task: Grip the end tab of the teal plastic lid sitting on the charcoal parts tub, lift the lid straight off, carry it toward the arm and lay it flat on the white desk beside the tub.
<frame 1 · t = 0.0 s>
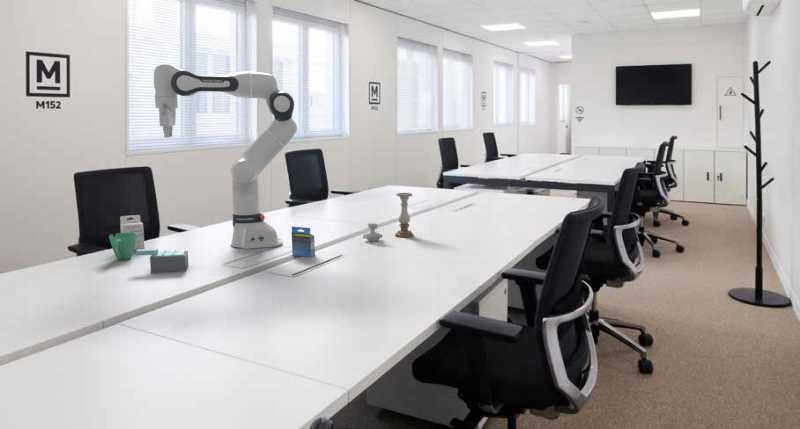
hand: (168, 137, 264), 48 cm above the table, tool pointing down, fingers open, 8 cm apart
mug: (122, 261, 248), on the table
candle holder: (404, 236, 298), on the table
grey oil lamp: (372, 241, 286), on the table
ink box: (133, 250, 267), on the table
lid: (169, 255, 230), point 6 cm above the table, touching tub
tub: (170, 271, 231), on the table
label tape box: (303, 256, 257), on the table
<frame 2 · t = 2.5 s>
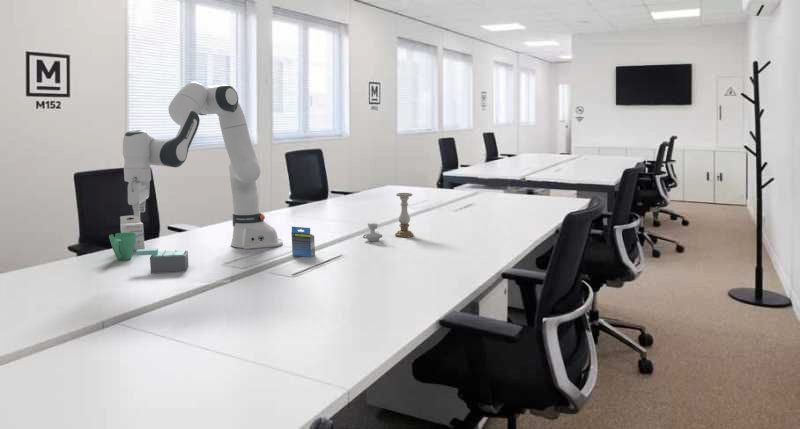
hand: (139, 214, 225), 22 cm above the table, tool pointing down, fingers open, 8 cm apart
nothing on the table moved.
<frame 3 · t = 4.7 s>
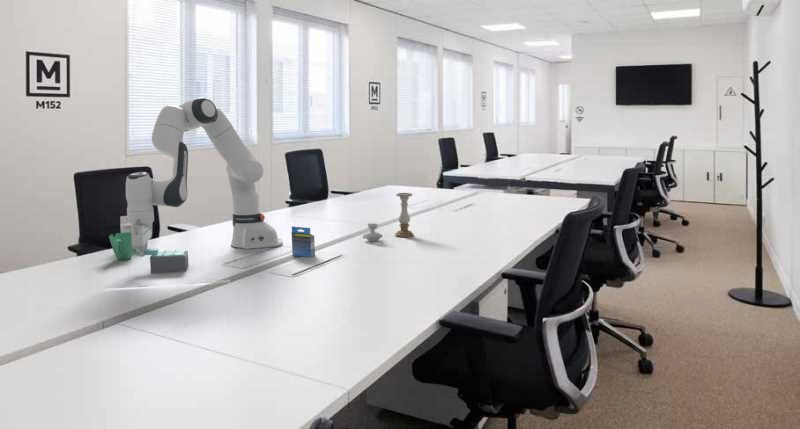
hand: (143, 254, 228), 7 cm above the table, tool pointing down, fingers closed on lid, 3 cm apart
lid: (169, 255, 230), point 6 cm above the table, touching gripper, tub
everything else where it was.
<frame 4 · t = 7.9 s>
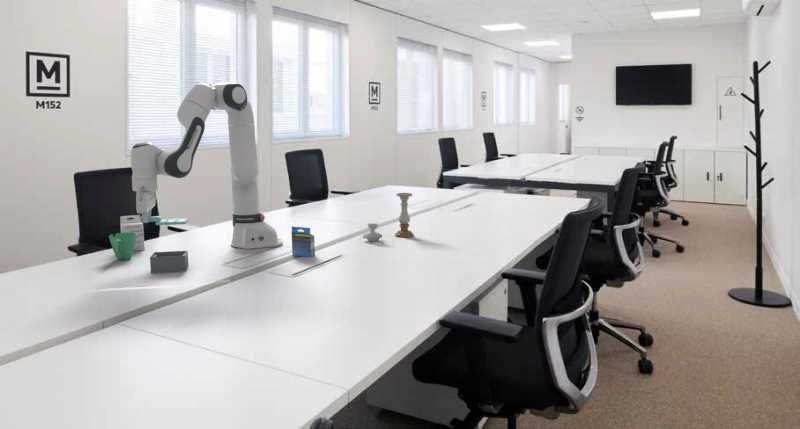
hand: (147, 221, 238), 17 cm above the table, tool pointing down, fingers closed on lid, 3 cm apart
lid: (172, 222, 240), point 16 cm above the table, touching gripper
everything else where it was.
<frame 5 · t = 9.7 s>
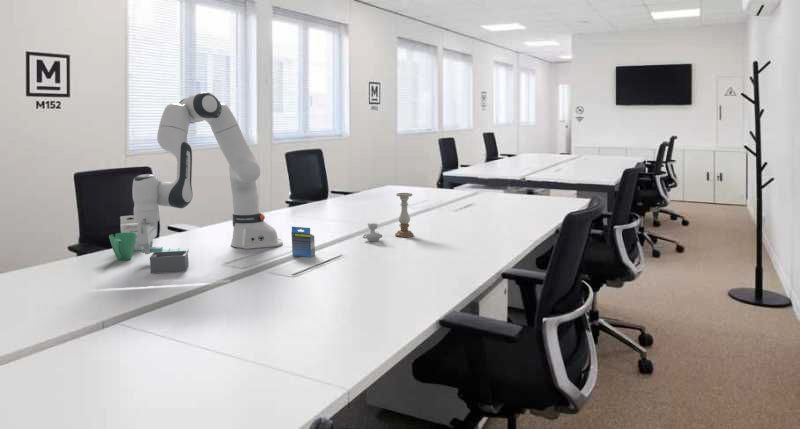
hand: (148, 252, 240), 5 cm above the table, tool pointing down, fingers closed on lid, 3 cm apart
lid: (173, 253, 242), point 4 cm above the table, touching gripper
everything else where it was.
when the fingers open (2 cm above the table, at t = 11.0 s): lid drops 2 cm, on the table.
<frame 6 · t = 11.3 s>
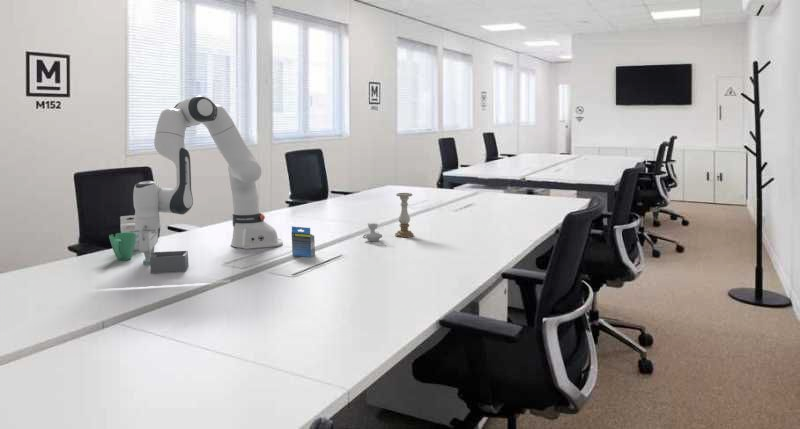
hand: (149, 259, 240), 2 cm above the table, tool pointing down, fingers open, 5 cm apart
lid: (174, 264, 243), on the table
everything else where it was.
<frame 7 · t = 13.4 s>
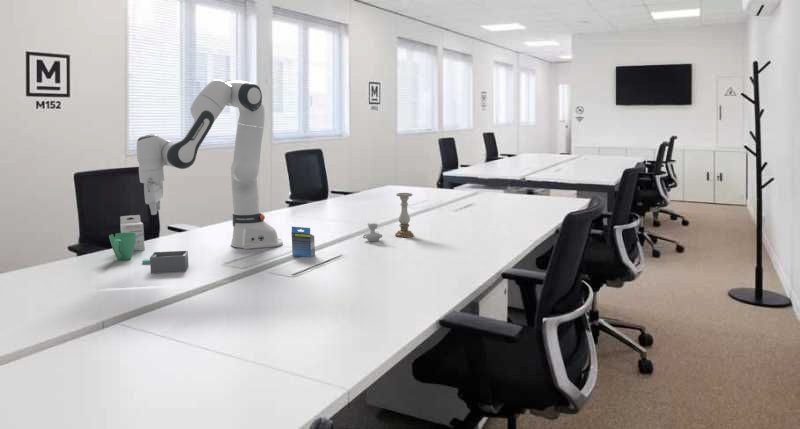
hand: (155, 212, 242), 20 cm above the table, tool pointing down, fingers open, 8 cm apart
nothing on the table moved.
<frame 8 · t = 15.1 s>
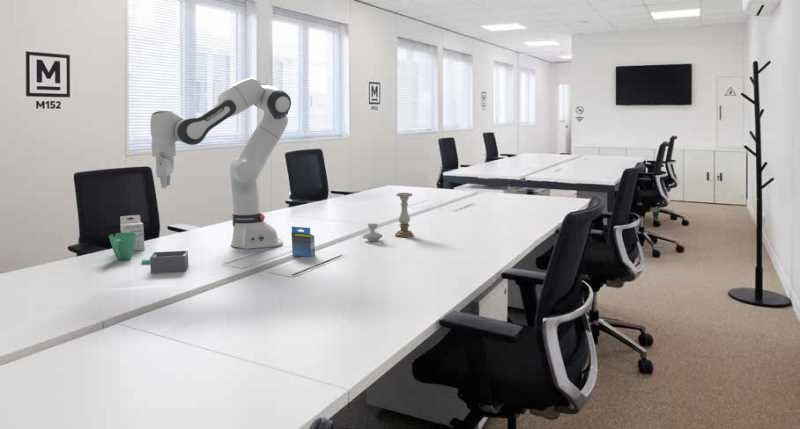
hand: (165, 186, 247), 29 cm above the table, tool pointing down, fingers open, 8 cm apart
nothing on the table moved.
at the end: lid inside the target area (0.9 cm from its centre), on the table; lid touching table; the gripper is holding nothing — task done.
